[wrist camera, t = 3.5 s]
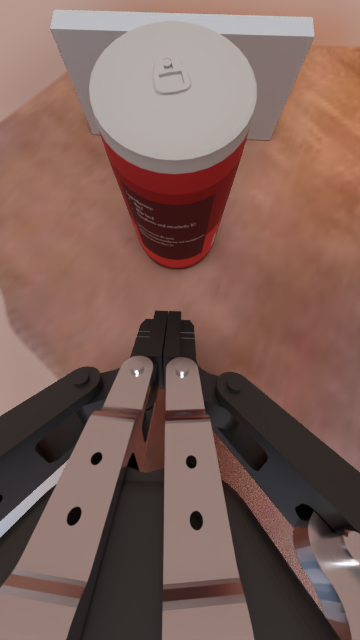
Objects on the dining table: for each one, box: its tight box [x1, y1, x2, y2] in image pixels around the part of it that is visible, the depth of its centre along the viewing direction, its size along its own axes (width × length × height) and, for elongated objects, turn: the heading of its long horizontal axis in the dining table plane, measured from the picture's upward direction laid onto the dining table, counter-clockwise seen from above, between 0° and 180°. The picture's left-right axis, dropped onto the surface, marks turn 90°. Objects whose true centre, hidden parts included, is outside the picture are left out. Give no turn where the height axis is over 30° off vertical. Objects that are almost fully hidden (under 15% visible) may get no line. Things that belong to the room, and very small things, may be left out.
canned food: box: [89, 21, 257, 268], centre depth 14 cm, size 8×8×11 cm
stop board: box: [50, 10, 314, 140], centre depth 18 cm, size 20×7×7 cm, turn 88°
